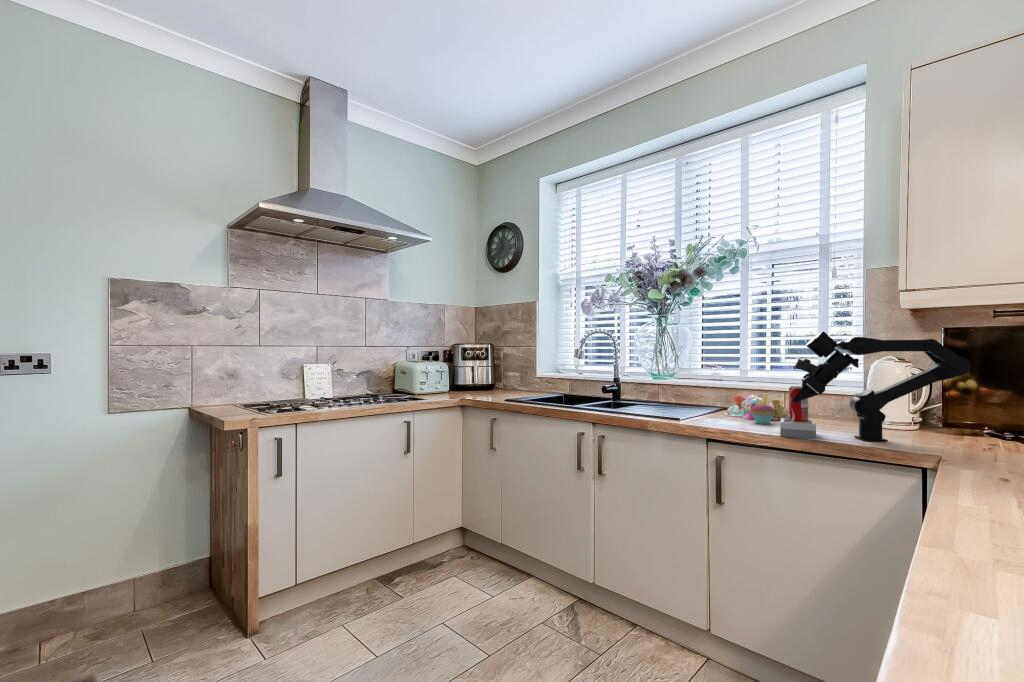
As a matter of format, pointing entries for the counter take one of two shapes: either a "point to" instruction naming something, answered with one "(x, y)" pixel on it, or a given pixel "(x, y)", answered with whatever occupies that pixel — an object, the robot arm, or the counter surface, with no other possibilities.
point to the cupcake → (762, 412)
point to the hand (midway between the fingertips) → (793, 400)
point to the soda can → (797, 407)
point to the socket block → (798, 429)
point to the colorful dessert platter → (750, 402)
